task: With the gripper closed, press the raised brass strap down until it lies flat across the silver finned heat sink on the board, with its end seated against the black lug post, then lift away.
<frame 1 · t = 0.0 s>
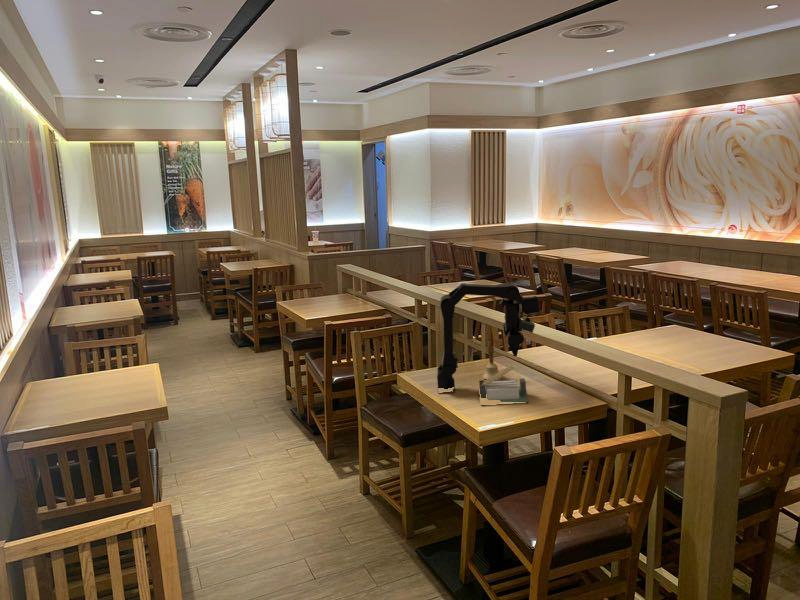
hand: (513, 352, 238), 15 cm above the table, tool pointing down, fingers open, 9 cm apart
heatsink board: (502, 397, 233), on the table
hand bell: (492, 377, 253), on the table
strap: (497, 375, 231), point 9 cm above the table, hinge at 30.0°
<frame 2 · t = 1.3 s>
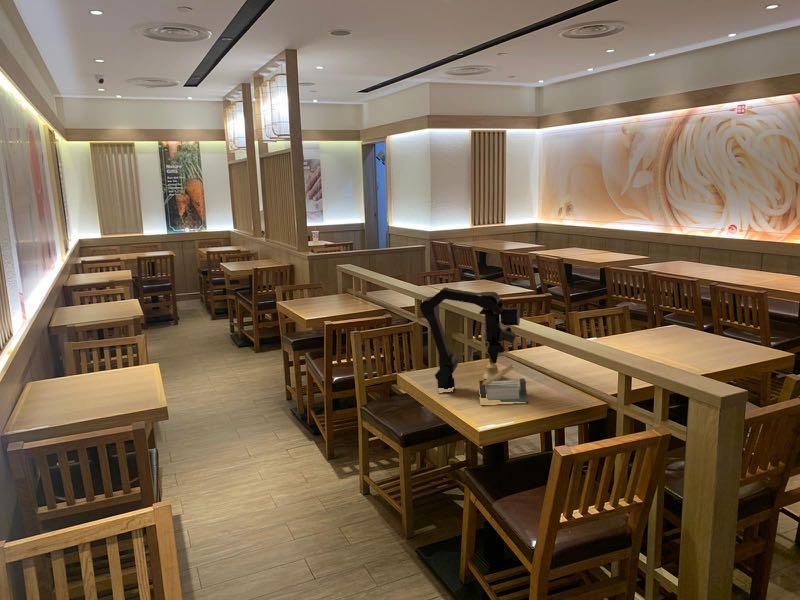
hand: (494, 362, 234), 13 cm above the table, tool pointing down, fingers closed
nothing on the table moved.
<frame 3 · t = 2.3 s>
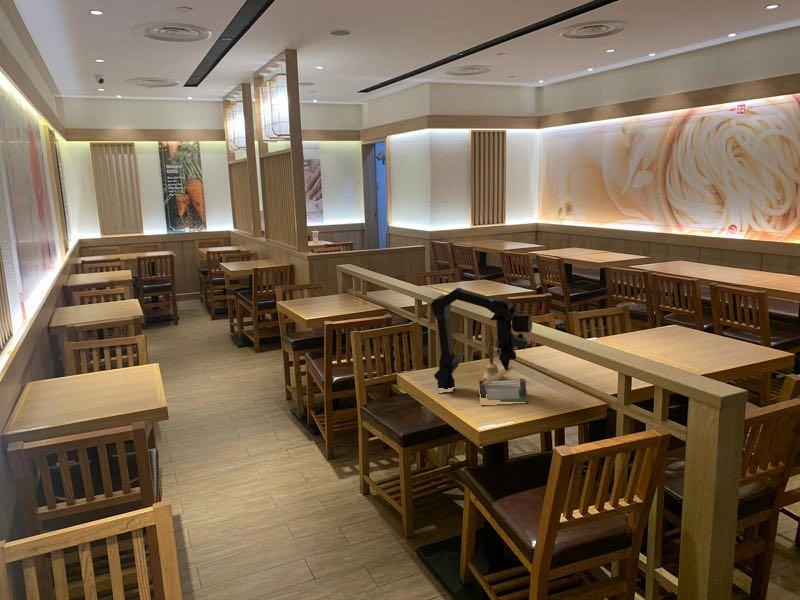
hand: (506, 369, 230), 11 cm above the table, tool pointing down, fingers closed, pressing on strap
strap: (497, 375, 231), point 9 cm above the table, hinge at 29.8°, touching gripper
everything else where it was.
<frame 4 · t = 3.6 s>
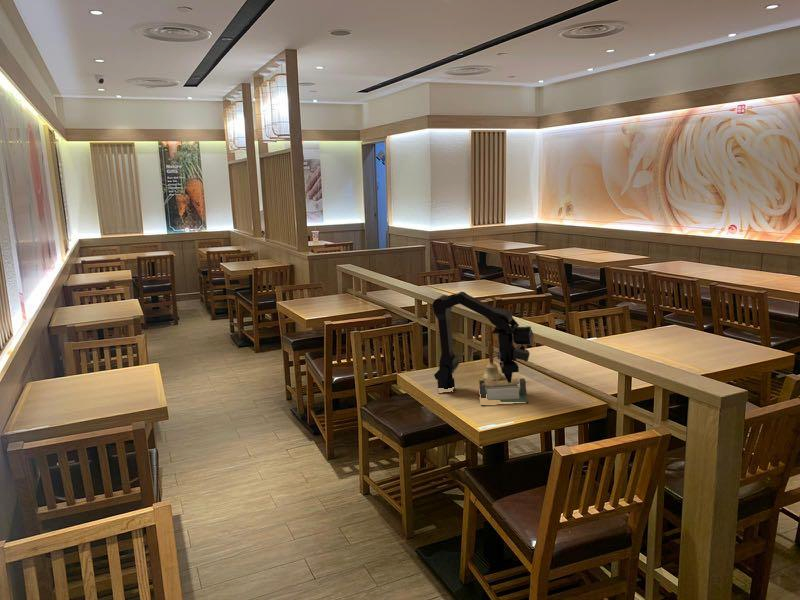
hand: (509, 381, 231), 6 cm above the table, tool pointing down, fingers closed, pressing on strap
strap: (500, 383, 232), point 6 cm above the table, hinge at 3.1°, touching gripper
everything else where it was.
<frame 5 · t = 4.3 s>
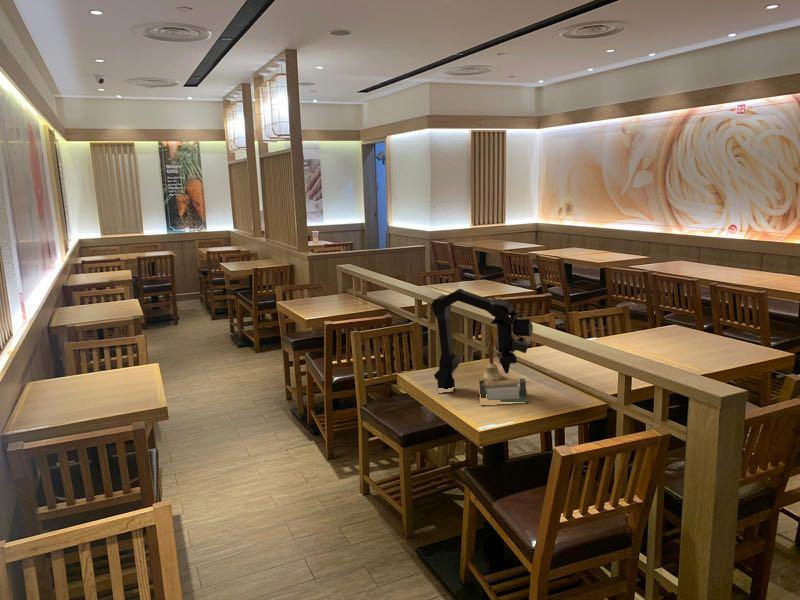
hand: (506, 372, 230), 10 cm above the table, tool pointing down, fingers closed
strap: (500, 383, 232), point 6 cm above the table, hinge at 2.9°
everything else where it was.
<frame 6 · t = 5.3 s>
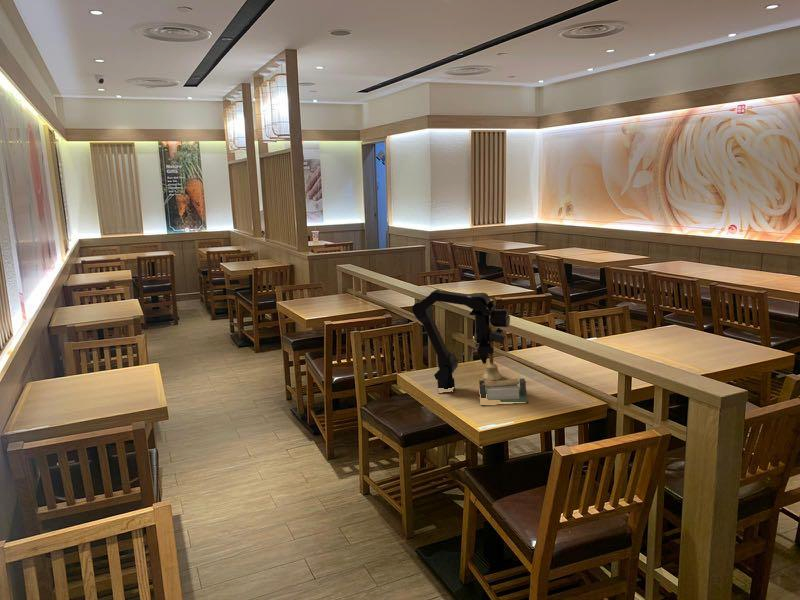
hand: (484, 363, 234), 13 cm above the table, tool pointing down, fingers closed
nothing on the table moved.
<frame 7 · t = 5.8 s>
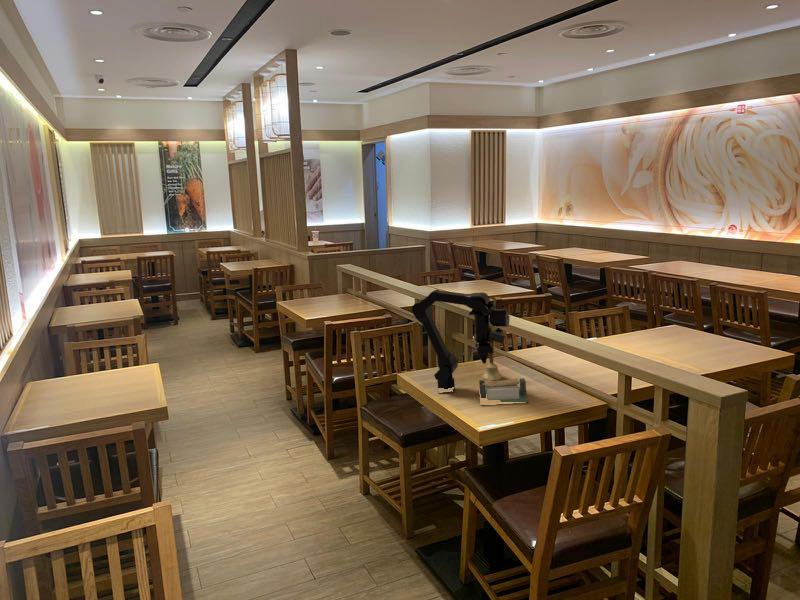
hand: (484, 363, 234), 13 cm above the table, tool pointing down, fingers closed
nothing on the table moved.
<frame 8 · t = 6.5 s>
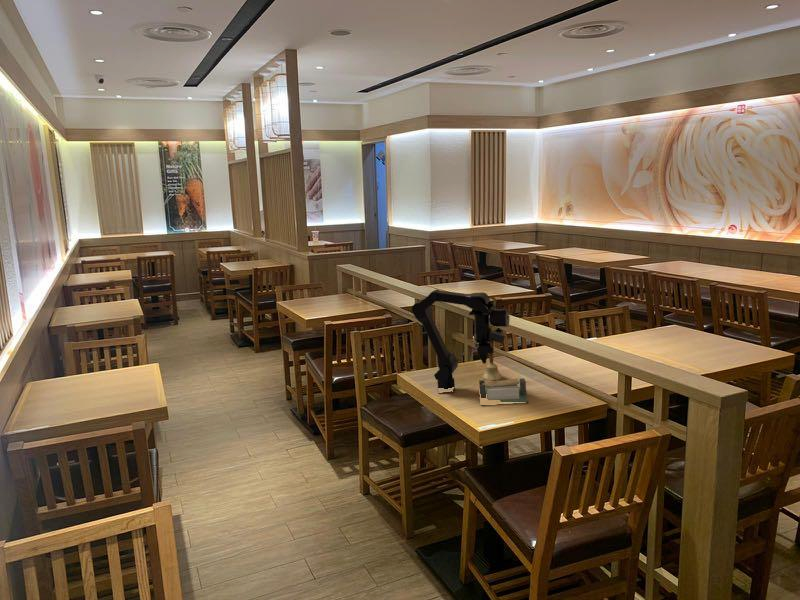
hand: (484, 363, 234), 13 cm above the table, tool pointing down, fingers closed
nothing on the table moved.
at the end: strap at +3° (first picture: +30°); hand bell moved 0.3 cm from its start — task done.
